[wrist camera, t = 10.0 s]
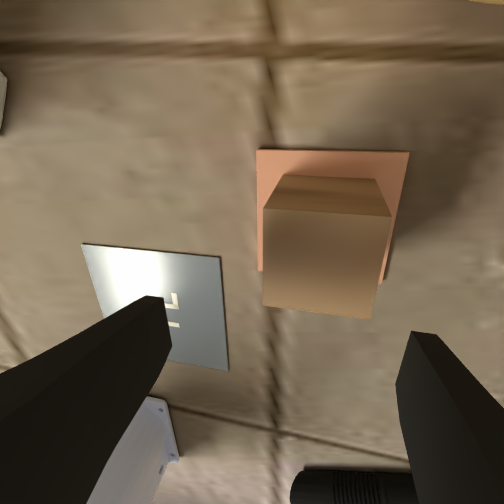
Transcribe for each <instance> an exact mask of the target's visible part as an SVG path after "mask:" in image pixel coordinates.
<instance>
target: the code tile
mask: <svg viewBox="0 0 504 504" xmlns="http://www.w3.org/2000/svg"><path fill="white" fill-rule="evenodd" d="M81 247H82V250H83V253H84V256H85V259H86V263H87V266H88V269H89V272H90V275H91V278H92V282H93V285H94V288H95V291H96V294H97V297H98V300H99V304H100V307H101V310H102V313H103V316H104V319H105V318H106V317H108V316H110V315H111V314H113V313H115V312H117V311H118V310H120V309H122V308H123V307H125V306H127V305H129V304H130V303H132V302H134V301H136V300H138V299H139V298H141V297H143V296H145V295H149V296H156V297H163V298H164V303H165V308H166V314H167V319H168V324H169V330H170V335H171V340H172V348H171V351H170V353H169V355H168V357H167V360H168V361H174V362H179V363H185V364H190V365H196V366H201V367H207V368H212V369H218V370H223V371H229V369H228V357H227V344H226V331H225V319H224V306H223V294H222V281H221V269H220V257H211V256H201V255H191V254H181V253H171V252H161V251H151V250H141V249H131V248H121V247H110V246H100V245H90V244H81Z"/></svg>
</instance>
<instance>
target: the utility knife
mask: <svg viewBox="0 0 504 504" xmlns="http://www.w3.org/2000/svg"><path fill="white" fill-rule="evenodd" d="M290 503H291V504H419V500H418V496H417V492H416V488H415V484H414V480H413V475H412V474H397V473H384V472H381V473H378V474H376V473H375V472H374V473H373V474H372V473H371V472H369V473H368V472H365V473H363V472H361V473H359V472H357V473H355V472H352V473H351V471H349V472H347V471H344V472H343V471H340V472H339V471H336V472H335V471H301V472H299V473H298V474H297V476H296V477H295V479H294V481H293V484H292V487H291V491H290Z"/></svg>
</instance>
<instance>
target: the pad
mask: <svg viewBox="0 0 504 504" xmlns="http://www.w3.org/2000/svg"><path fill="white" fill-rule="evenodd" d="M256 151H257V230H258V271H263V207H264V206H265V204H266V202H267V201H268V199H269V197H270V195H271V194H272V192H273V190H274V189H275V187H276V185H277V184H278V182H279V180H280V178H281V177H282V175H301V176H323V177H346V178H368V179H375V180H376V182H377V184H378V186H379V188H380V191H381V193H382V195H383V197H384V200H385V202H386V204H387V206H388V208H389V211H390V213H391V215H392V222H391V226H390V231H389V235H388V240H387V245H386V249H385V254H384V259H383V263H382V268H381V272H380V277H379V282H378V284H382V280H383V275H384V270H385V266H386V261H387V256H388V252H389V247H390V242H391V238H392V233H393V229H394V224H395V219H396V215H397V210H398V205H399V201H400V196H401V191H402V187H403V182H404V177H405V173H406V168H407V163H408V159H409V154H410V153H409V152H386V151H334V150H283V149H257V150H256Z"/></svg>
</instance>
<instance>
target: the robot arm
mask: <svg viewBox="0 0 504 504" xmlns="http://www.w3.org/2000/svg"><path fill="white" fill-rule="evenodd" d="M171 348H172V340H171V335H170V330H169V324H168V319H167V314H166V308H165V303H164V298H163V297H156V296H149V295H145V296H143V297H141V298H139V299H138V300H136V301H134V302H132V303H130V304H129V305H127V306H125V307H123V308H122V309H120V310H118V311H117V312H115V313H113V314H111V315H110V316H108V317H106V318H105V319H103V320H101V321H99V322H98V323H96V324H94V325H92V326H91V327H89V328H87V329H86V330H84V331H82V332H80V333H79V334H77V335H75V336H73V337H71V338H69V339H68V340H66V341H64V342H62V343H60V344H58V345H56V346H55V347H53V348H51V349H49V350H47V351H45V352H43V353H42V354H40V355H38V356H36V357H34V358H32V359H30V360H28V361H26V362H24V363H22V364H20V365H18V366H16V367H14V368H11V369H9V370H7V371H5V372H3V373H0V504H150V503H151V501H152V499H153V496H154V494H155V492H156V490H157V487H158V485H159V483H160V481H161V478H162V476H163V474H164V471H165V469H166V467H167V465H168V462H172V463H178V461H179V454H178V450H177V445H176V441H175V437H174V432H173V428H172V424H171V420H170V415H169V411H168V407H167V403H166V402H165V401H164V400H162V399H158V398H153V397H148V396H147V395H148V393H149V392H150V390H151V388H152V387H153V385H154V384H155V382H156V380H157V378H158V377H159V375H160V373H161V371H162V369H163V366H164V364H165V362H166V360H167V357H168V355H169V353H170V351H171ZM396 394H397V403H398V411H399V419H400V425H401V429H402V433H403V438H404V442H405V446H406V450H407V455H408V459H409V463H410V467H411V471H412V475H413V480H414V484H415V488H416V492H417V496H418V500H419V504H504V408H503V407H502V406H501V405H500V404H499V403H498V402H497V401H496V400H495V399H494V398H493V397H492V396H491V394H490V393H489V392H488V391H487V390H486V389H485V388H484V387H483V386H482V385H481V384H480V382H479V381H478V380H477V379H476V378H475V377H474V376H473V375H472V374H471V372H470V371H469V370H468V369H467V368H466V367H465V366H464V365H463V364H462V362H461V361H460V360H459V359H458V358H457V357H456V356H455V354H454V353H453V352H452V351H451V350H450V349H449V348H448V347H447V345H446V344H445V343H444V342H443V341H442V340H441V339H440V338H439V337H438V335H437V334H430V333H422V332H415V331H411V333H410V337H409V340H408V343H407V347H406V350H405V353H404V357H403V360H402V363H401V367H400V370H399V374H398V377H397V380H396Z"/></svg>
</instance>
